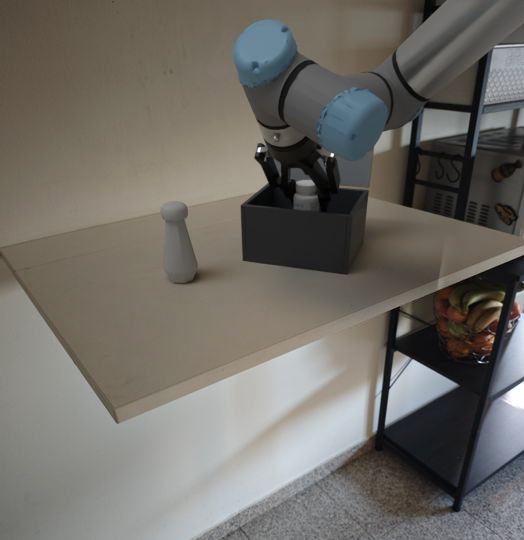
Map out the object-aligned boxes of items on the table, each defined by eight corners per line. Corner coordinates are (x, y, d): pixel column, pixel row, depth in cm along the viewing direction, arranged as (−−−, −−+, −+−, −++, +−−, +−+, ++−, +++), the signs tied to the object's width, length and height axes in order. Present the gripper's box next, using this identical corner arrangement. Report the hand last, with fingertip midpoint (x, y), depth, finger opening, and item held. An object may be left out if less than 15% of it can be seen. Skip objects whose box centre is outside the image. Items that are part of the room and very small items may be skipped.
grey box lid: (380, 87, 84) (381, 87, 85) (270, 85, 90) (272, 85, 90) (368, 187, 92) (369, 187, 93) (268, 179, 98) (270, 178, 98)
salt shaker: (179, 268, 89) (171, 195, 82) (205, 275, 87) (199, 201, 80) (158, 280, 85) (147, 205, 78) (184, 288, 83) (175, 211, 75)
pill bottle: (316, 224, 95) (319, 178, 90) (320, 232, 91) (322, 186, 86) (291, 224, 95) (292, 179, 90) (293, 233, 91) (295, 186, 86)
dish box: (347, 274, 86) (352, 216, 81) (242, 260, 92) (240, 205, 86) (363, 242, 98) (368, 189, 93) (269, 231, 104) (269, 181, 98)
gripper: (224, 145, 74) (262, 218, 96) (342, 153, 69) (354, 228, 91) (236, 101, 75) (271, 183, 97) (353, 105, 70) (362, 191, 92)
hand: (311, 205), depth 94 cm, fingers closed on pill bottle, 5 cm apart
